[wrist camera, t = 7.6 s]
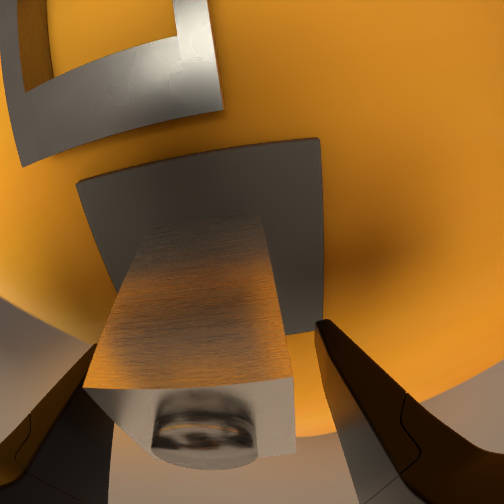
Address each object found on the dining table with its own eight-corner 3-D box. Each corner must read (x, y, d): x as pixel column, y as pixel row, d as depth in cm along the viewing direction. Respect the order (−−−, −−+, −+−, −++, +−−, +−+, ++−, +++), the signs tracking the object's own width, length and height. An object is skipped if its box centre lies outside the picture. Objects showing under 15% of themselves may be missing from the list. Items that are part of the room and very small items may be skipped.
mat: (316, 137, 10) (319, 139, 10) (320, 323, 15) (322, 329, 14) (79, 180, 10) (75, 184, 10) (147, 343, 15) (146, 349, 14)
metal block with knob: (259, 210, 11) (298, 405, 4) (270, 299, 13) (298, 470, 7) (148, 228, 11) (75, 411, 4) (177, 311, 13) (154, 476, 7)
